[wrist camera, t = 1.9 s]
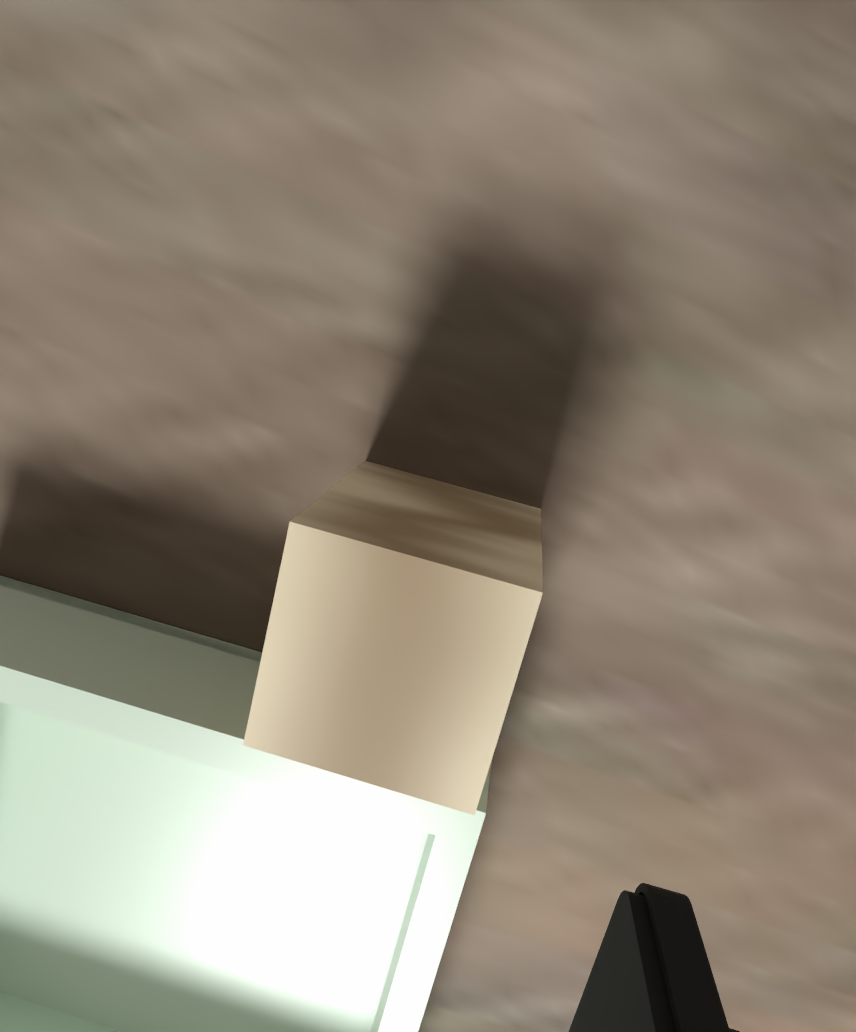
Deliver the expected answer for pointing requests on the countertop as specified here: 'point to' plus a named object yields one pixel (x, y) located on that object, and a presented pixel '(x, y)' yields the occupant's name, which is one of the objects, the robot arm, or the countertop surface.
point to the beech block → (399, 633)
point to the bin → (196, 846)
